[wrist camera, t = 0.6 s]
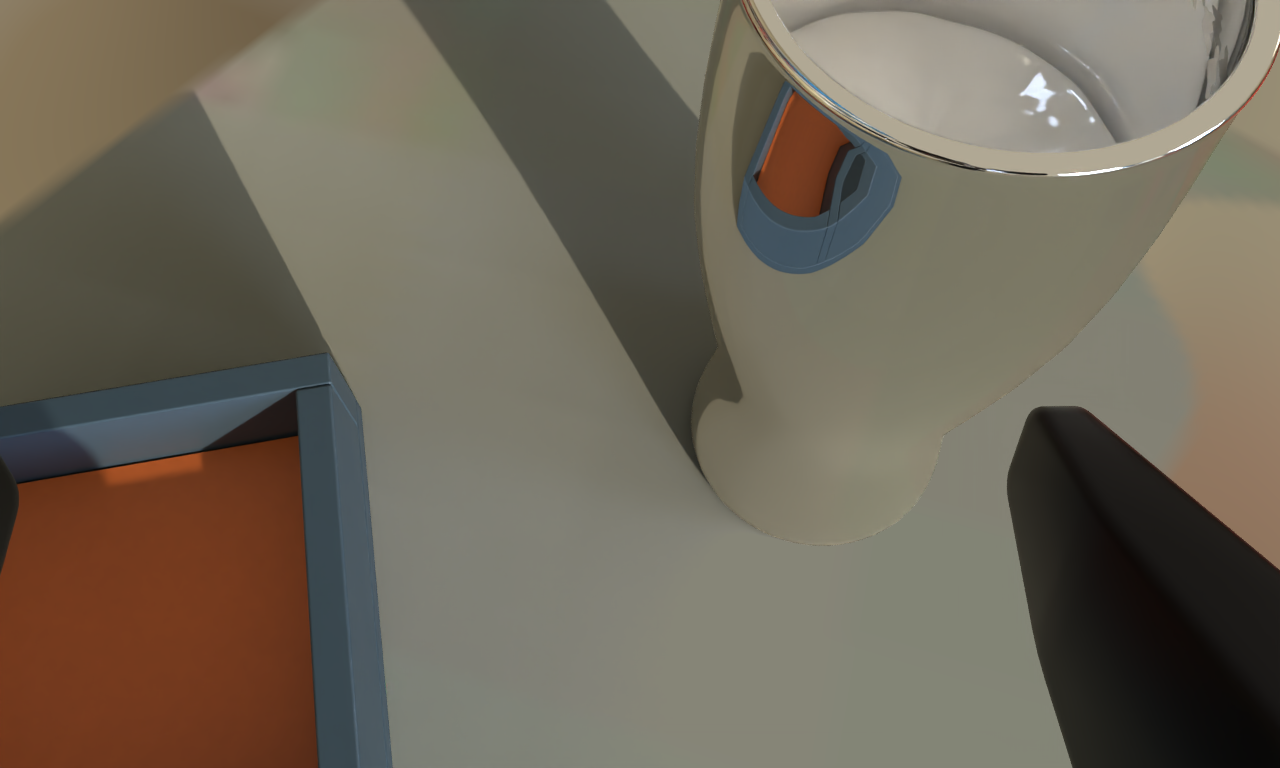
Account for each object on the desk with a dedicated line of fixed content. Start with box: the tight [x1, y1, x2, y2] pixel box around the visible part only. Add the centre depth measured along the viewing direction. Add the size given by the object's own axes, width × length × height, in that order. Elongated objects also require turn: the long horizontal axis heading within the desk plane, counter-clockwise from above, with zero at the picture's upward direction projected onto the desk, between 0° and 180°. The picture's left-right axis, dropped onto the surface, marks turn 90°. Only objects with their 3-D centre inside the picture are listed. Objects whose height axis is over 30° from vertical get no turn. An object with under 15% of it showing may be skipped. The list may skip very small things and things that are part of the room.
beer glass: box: [691, 0, 1280, 546], centre depth 19 cm, size 7×7×15 cm
